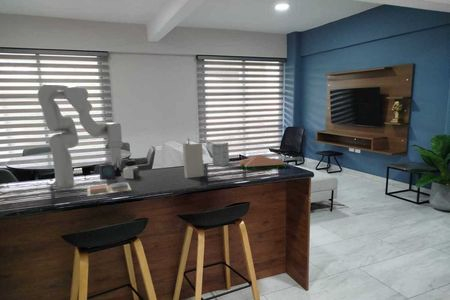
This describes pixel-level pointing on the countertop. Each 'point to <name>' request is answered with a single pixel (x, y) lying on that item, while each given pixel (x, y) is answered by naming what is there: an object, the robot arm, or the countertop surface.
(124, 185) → the beige square tile
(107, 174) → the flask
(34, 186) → the countertop surface
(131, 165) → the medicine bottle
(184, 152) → the beige box with antenna
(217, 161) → the supplement box
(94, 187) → the teal square slab
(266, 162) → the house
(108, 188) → the board
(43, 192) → the countertop surface
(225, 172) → the countertop surface
